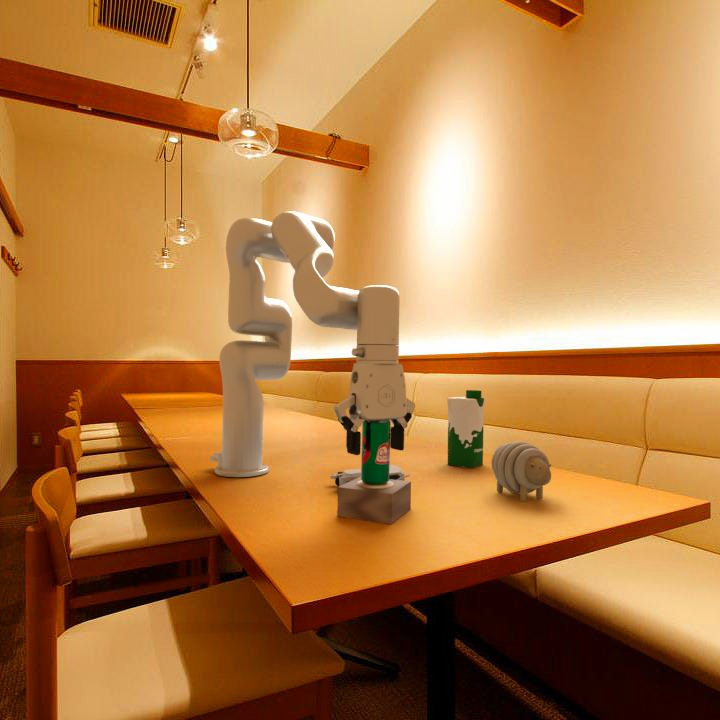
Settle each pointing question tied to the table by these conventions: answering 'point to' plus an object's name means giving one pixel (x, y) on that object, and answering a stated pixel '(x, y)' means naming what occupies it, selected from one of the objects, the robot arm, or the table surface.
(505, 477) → the toy sheep
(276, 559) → the table surface
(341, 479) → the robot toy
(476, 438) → the milk carton
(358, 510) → the base brick
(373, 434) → the soda can
